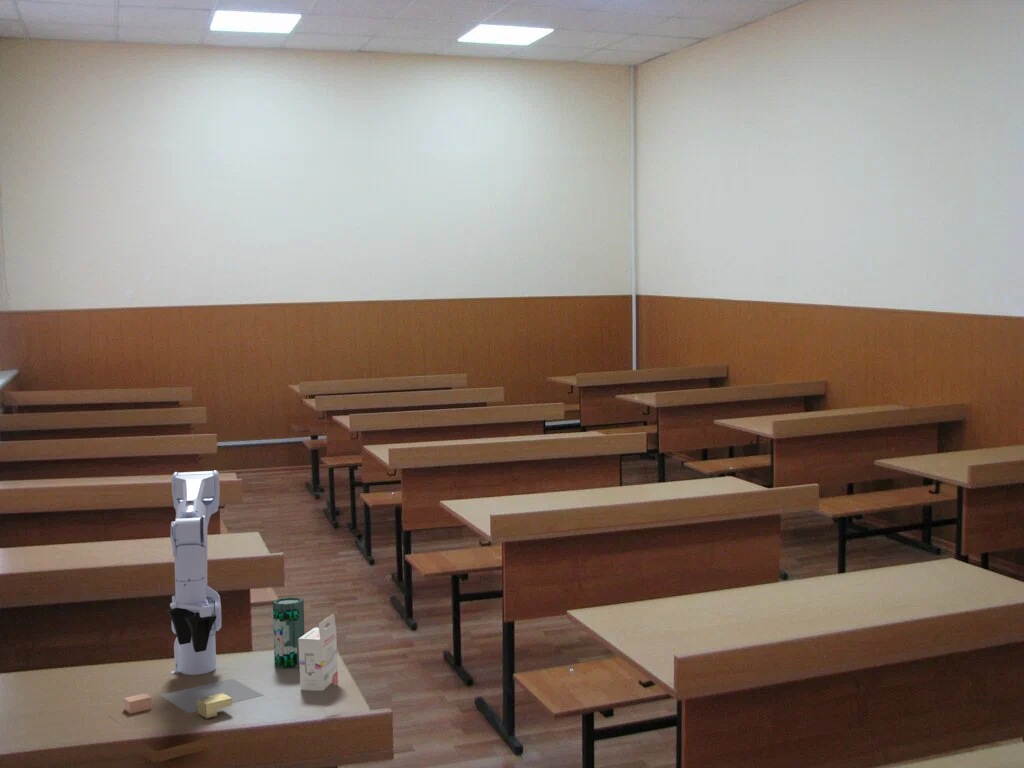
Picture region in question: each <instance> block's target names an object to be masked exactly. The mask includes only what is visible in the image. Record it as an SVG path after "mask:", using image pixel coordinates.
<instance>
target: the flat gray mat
mask: <svg viewBox="0 0 1024 768" xmlns="http://www.w3.org/2000/svg"><path fill="white" fill-rule="evenodd" d="M220 693H224V694H226V695H228V696H229V697H231V698H232V704H234V703H239V702H242V701H247V700H250V699H253V698H259V697H263V696H264V694H262V693H260V692H258V691H257V690H255V689H253V688H251V687H249V686H247V685H246V684H243V683H241V682H239V681H238V680H235V679H234V678H229V679H224V680H220V681H215V682H212V683H207V684H203V685H198V686H194V687H189V688H186V689H181V690H176V691H172V692H167V693H164V694H160V695H159V696H160V697H162V698H163V699H165V700H167V701H168V702H170V703H171V704H173V705H174V706H176V707H177V708H179V709H181V710H182V711H184V712H185V713H187V714H194V713H198V710H197V699H199V698H203V697H207V696H211V695H216V694H220Z"/></svg>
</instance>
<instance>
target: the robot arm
mask: <svg viewBox="0 0 1024 768" xmlns="http://www.w3.org/2000/svg"><path fill="white" fill-rule="evenodd" d="M220 488H221V485H220V473H219V472H218V470H217V469H216V470H215V469H214V470H203V471H185V472H178V471H174V473H173V474H172V475H171V495H172V499H173V508H174V509H175V520H174V521H173V520H172V521H171V523H170V542H171V547H172V557H173V558H174V559H173V560H174V582H175V583H174V585H175V586H174V588H175V591H174V592H175V594H174V595H172V596H171V602H170V604H169V607H170V608H169V609H167V610H166V613H167V614H168V616H169V618H170V620H171V621H170V622H171V630H172V632H173V633H174V634H175V635H176V638H175V640H174V642H173V656H174V660H173V661H174V670H172V671H170V675H172V674H177V673H181V674H183V675H188V676H191V675H192V676H193V675H194V676H195V675H196V676H197V675H204V674H207V673H211V672H214V671H215V670H216V669H217V653H216V652H217V650H216V649H217V648H216V632H219V631H220V629H221V628H222V604H221V596H220V595H219V593H218V591H216V590H214V589H213V588H211V587H210V586H208V527H209V522H210V519H211V516H212V515H213V514H215V513H217V512H218V511H219V506H220V494H221V493H220V491H221V489H220Z"/></svg>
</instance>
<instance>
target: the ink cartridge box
mask: <svg viewBox="0 0 1024 768" xmlns="http://www.w3.org/2000/svg"><path fill="white" fill-rule="evenodd" d="M327 624H329V625H328V626H327V627H326V625H327ZM337 643H338V640H337V627H336V618H335V614H334V613H332V614H331V615H329V616H328V617H326V618H325V619H324V620H322V621H320V622H319V623H318V627H313V628H312V629H310V630H309V631H308V632H306V633H305V635H303V636H302V637H300V638H299V639H298V644H299V666H300V668H299V681H300V682H299V685H300V686H299V689H300V690H301V691H317V692H318V691H319V692H320V691H321V692H322V691H324V690H326V689H327V688H328V687H330V685H331V684H333V685H335V686H338V685H339V679H338V677H339V673H338V644H337Z"/></svg>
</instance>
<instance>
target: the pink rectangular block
mask: <svg viewBox="0 0 1024 768" xmlns="http://www.w3.org/2000/svg"><path fill="white" fill-rule="evenodd" d="M123 706H124V707H123V708H124V709H123V710H124V711H125V712H127V713H128V714H134V713H138V712H139V713H140V712H143V711H147V710H151V709H152V696H150V695H148V694H147V693H140V694H136V695H131V696H127V697H124V698H123ZM108 717H109V718H110V719H112V721H114V722H116V723H117V724H119V725H120V726H121V727H123V725H121V724H120V723H118V722H117V721H116V720H115V719H113V718H112V717H111V716H109V715H108ZM124 728H125V729H126V727H124Z"/></svg>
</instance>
